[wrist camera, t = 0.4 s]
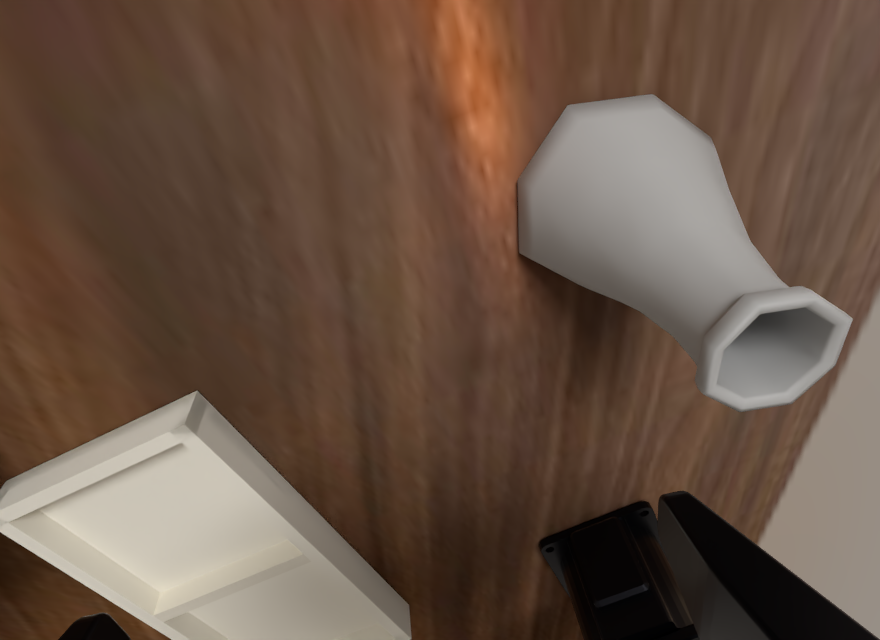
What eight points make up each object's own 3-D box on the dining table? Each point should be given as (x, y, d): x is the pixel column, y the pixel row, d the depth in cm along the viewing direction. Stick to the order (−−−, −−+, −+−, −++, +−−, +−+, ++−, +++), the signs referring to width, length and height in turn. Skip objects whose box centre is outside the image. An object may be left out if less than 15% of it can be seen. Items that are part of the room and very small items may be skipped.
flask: (488, 267, 22) (568, 463, 13) (548, 68, 18) (712, 167, 10) (654, 292, 23) (818, 481, 15) (741, 114, 19) (1025, 233, 11)
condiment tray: (409, 604, 33) (411, 639, 32) (265, 660, 35) (261, 695, 33) (197, 390, 23) (184, 424, 21) (6, 481, 24) (-21, 519, 23)
